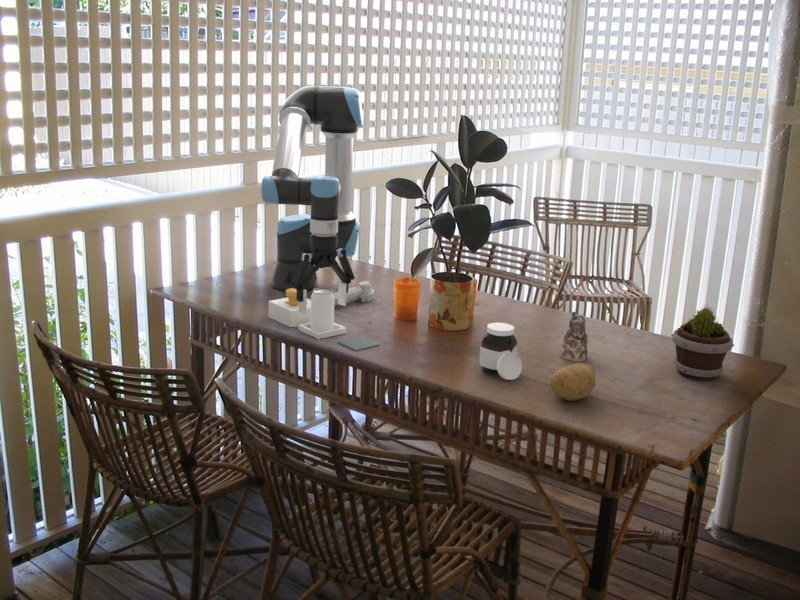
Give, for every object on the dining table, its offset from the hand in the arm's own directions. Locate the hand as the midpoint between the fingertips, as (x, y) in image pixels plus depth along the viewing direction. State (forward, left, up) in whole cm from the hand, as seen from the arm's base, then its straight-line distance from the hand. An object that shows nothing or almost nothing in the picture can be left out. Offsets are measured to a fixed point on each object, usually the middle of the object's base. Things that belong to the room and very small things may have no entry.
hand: (322, 308), depth 245 cm
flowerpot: (-61, +81, -7) cm, 102 cm away
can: (0, 0, -7) cm, 7 cm away
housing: (0, -7, -7) cm, 10 cm away
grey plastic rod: (-20, -17, -7) cm, 27 cm away
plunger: (0, -13, -6) cm, 14 cm away
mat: (-2, +14, -7) cm, 16 cm away
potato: (-21, +72, -7) cm, 75 cm away
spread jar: (-19, +51, -7) cm, 55 cm away
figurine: (-44, +54, -7) cm, 70 cm away
